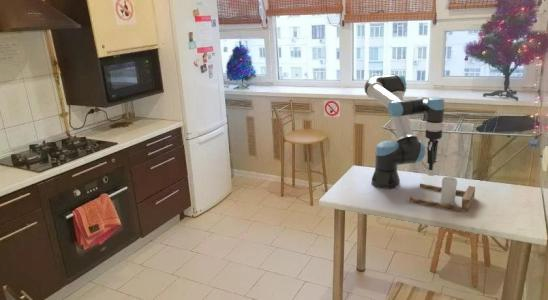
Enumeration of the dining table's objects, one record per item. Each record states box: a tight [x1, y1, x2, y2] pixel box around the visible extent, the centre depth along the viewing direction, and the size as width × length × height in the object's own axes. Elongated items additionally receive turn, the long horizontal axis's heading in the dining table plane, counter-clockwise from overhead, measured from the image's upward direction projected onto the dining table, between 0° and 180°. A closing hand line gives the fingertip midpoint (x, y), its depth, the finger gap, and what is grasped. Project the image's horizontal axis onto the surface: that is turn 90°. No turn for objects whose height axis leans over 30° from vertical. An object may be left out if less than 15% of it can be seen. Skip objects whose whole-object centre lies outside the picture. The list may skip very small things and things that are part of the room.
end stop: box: [461, 185, 476, 212], centre depth 205 cm, size 3×17×6 cm, turn 147°
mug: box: [440, 176, 458, 205], centre depth 209 cm, size 10×7×12 cm, turn 156°
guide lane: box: [408, 183, 466, 213], centre depth 213 cm, size 24×20×2 cm
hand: (430, 175), depth 212 cm, fingers closed
